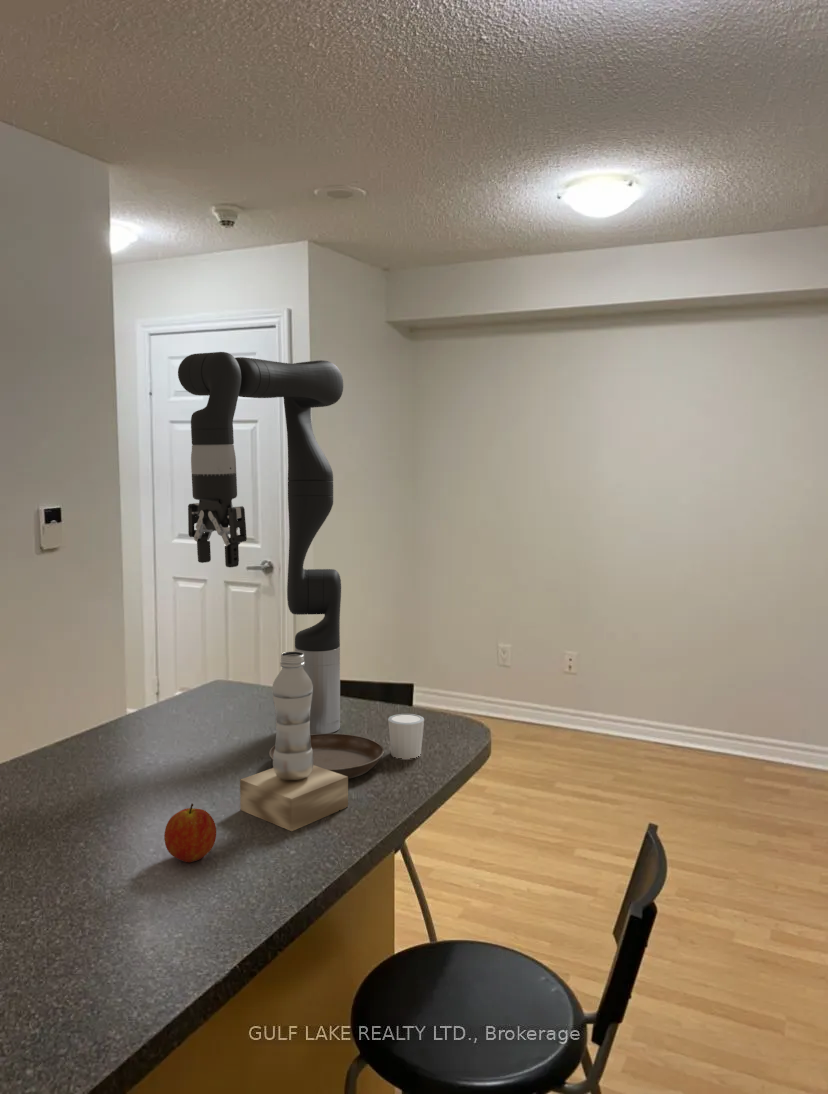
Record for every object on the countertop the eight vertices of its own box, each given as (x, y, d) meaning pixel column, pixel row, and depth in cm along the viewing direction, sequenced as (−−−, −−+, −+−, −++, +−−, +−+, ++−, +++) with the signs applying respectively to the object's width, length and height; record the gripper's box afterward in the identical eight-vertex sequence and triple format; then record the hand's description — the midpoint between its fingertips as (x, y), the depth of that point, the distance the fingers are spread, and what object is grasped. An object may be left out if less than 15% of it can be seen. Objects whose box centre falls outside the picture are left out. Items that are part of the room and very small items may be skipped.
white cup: (425, 749, 163) (425, 713, 162) (422, 761, 156) (422, 724, 156) (390, 747, 164) (390, 712, 163) (385, 759, 157) (385, 723, 156)
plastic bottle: (321, 772, 136) (320, 651, 134) (302, 787, 130) (301, 660, 128) (285, 768, 138) (284, 648, 136) (264, 782, 132) (263, 656, 130)
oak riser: (240, 810, 134) (240, 779, 133) (296, 788, 143) (296, 759, 142) (291, 831, 126) (291, 799, 125) (347, 806, 135) (347, 776, 135)
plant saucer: (322, 741, 168) (322, 725, 168) (406, 762, 156) (406, 745, 156) (245, 771, 151) (245, 753, 151) (332, 797, 139) (332, 778, 139)
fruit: (154, 865, 115) (152, 809, 114) (184, 844, 121) (183, 790, 121) (197, 874, 113) (196, 816, 112) (226, 852, 119) (225, 797, 118)
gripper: (256, 471, 143) (260, 566, 145) (209, 469, 153) (213, 558, 155) (218, 473, 137) (222, 571, 140) (172, 471, 147) (177, 563, 149)
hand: (218, 564), depth 147 cm, fingers open, 8 cm apart
